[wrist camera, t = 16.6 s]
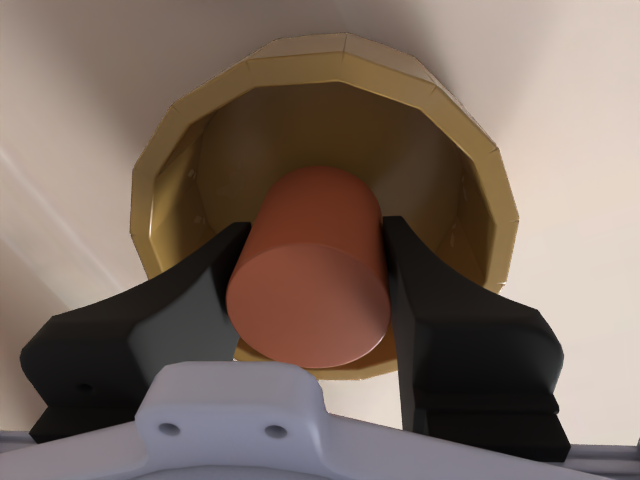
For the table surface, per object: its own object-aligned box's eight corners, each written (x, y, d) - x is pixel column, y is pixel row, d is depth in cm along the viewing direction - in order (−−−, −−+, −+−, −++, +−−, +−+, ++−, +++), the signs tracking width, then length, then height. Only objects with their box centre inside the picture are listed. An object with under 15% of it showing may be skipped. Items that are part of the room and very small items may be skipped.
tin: (496, 16, 13) (559, 32, 9) (459, 298, 20) (486, 382, 16) (147, 49, 15) (63, 75, 11) (221, 302, 21) (188, 379, 17)
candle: (381, 161, 14) (392, 240, 9) (382, 268, 16) (391, 369, 12) (251, 168, 14) (206, 246, 10) (271, 271, 17) (242, 368, 12)
